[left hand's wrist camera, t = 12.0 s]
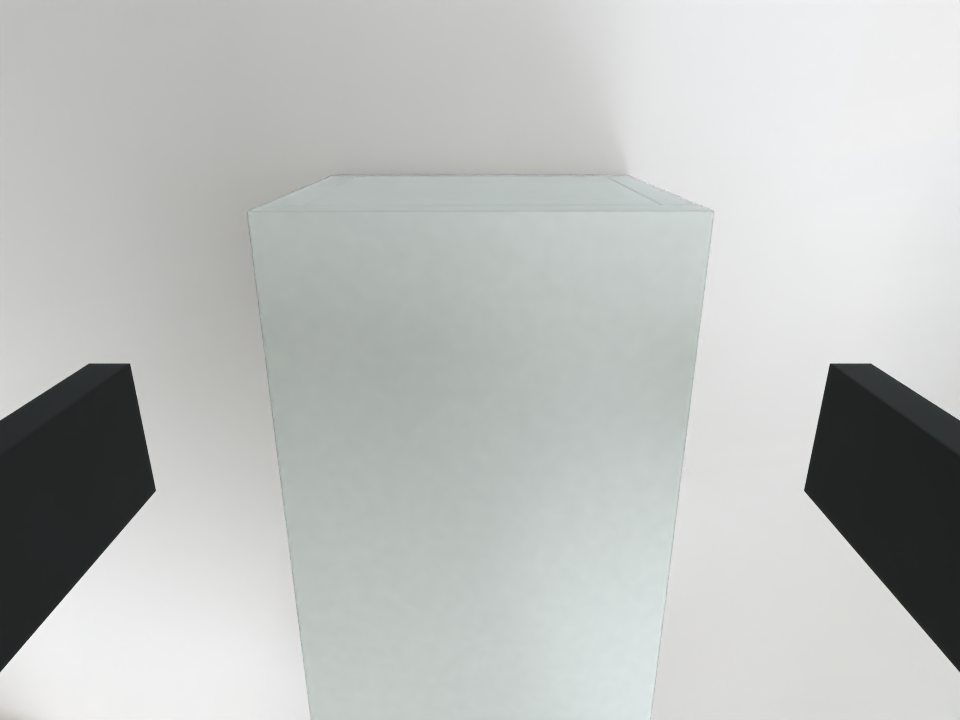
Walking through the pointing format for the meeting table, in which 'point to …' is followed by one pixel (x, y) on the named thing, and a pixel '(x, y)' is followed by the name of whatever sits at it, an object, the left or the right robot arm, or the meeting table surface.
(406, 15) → the meeting table surface
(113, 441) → the left robot arm
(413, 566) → the cabinet
